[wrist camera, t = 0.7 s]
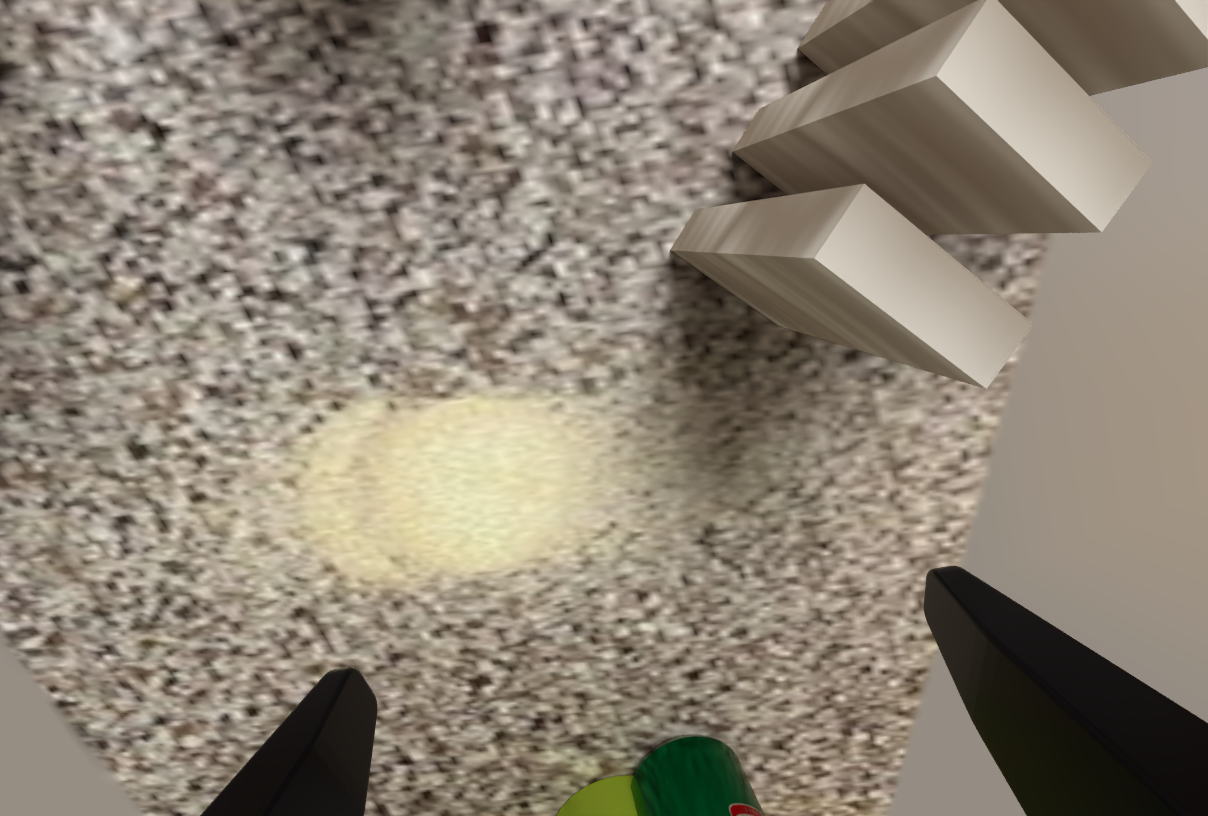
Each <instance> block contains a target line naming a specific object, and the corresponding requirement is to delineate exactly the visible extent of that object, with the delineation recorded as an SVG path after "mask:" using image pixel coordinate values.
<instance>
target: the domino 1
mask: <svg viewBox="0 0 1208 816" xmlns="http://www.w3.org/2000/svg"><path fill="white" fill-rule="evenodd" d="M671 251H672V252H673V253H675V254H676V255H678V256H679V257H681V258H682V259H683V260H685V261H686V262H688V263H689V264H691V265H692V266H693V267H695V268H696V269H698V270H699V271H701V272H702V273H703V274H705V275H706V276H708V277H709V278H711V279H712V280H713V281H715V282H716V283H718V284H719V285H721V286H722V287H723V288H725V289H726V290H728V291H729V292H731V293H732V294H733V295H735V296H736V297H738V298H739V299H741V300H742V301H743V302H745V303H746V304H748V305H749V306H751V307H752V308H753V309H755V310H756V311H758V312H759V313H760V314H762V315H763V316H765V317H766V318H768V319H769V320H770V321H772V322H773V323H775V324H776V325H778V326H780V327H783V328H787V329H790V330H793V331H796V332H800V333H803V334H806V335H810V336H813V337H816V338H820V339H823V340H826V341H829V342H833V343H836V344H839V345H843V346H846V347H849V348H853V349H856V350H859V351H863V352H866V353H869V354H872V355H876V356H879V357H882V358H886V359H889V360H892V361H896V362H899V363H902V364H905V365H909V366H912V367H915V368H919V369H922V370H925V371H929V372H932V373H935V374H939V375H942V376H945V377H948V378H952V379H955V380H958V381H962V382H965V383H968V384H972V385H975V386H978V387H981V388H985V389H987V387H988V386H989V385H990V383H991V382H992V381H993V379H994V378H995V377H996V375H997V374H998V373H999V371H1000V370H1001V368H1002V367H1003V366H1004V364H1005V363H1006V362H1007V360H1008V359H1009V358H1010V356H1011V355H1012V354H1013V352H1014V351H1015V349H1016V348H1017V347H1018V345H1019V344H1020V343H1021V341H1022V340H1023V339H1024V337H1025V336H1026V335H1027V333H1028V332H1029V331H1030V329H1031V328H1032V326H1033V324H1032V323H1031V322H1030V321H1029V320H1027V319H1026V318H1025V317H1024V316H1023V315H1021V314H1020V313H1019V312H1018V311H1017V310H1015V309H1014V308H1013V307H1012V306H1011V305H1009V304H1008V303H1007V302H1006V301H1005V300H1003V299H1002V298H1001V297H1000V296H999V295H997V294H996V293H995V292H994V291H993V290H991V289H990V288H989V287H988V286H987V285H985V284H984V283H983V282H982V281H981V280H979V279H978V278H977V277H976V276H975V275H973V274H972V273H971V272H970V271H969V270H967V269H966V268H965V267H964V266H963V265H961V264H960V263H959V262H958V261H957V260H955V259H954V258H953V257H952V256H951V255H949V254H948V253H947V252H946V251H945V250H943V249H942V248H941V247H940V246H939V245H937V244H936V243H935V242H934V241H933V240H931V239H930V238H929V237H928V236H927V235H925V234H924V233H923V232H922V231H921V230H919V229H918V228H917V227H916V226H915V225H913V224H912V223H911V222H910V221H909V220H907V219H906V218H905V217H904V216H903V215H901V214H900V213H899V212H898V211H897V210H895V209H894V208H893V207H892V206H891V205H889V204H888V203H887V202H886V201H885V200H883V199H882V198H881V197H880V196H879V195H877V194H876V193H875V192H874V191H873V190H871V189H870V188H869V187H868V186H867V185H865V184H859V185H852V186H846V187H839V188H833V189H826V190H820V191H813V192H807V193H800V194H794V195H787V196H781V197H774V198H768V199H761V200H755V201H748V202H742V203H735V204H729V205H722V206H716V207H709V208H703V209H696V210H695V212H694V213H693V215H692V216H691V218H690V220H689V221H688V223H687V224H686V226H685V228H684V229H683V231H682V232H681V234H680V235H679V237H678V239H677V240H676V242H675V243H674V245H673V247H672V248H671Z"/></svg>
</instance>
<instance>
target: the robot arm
mask: <svg viewBox="0 0 1208 816" xmlns="http://www.w3.org/2000/svg"><path fill="white" fill-rule="evenodd" d="M924 613H925V617H926V620H927V623H928V625H929V627H930V629H931V632H932V634H933V636H934V638H935V641H936V643H937V645H938V647H939V649H940V652H941V654H942V656H943V658H944V660H945V663H946V665H947V667H948V669H949V671H950V674H951V676H952V678H953V680H954V683H955V685H956V687H957V689H958V692H959V694H960V696H961V698H962V700H963V703H964V704H965V707H966V709H967V711H968V713H969V715H970V717H971V719H972V721H973V723H974V725H975V727H976V729H977V731H978V732H979V734H980V736H981V738H982V740H983V741H984V743H985V745H986V746H987V748H988V750H989V752H990V753H991V755H992V757H993V758H994V760H995V762H996V764H997V765H998V767H999V769H1000V770H1001V772H1002V774H1003V776H1004V777H1005V779H1006V781H1007V783H1008V784H1009V786H1010V788H1011V789H1012V791H1013V793H1014V795H1015V796H1016V798H1017V800H1018V802H1019V803H1020V805H1021V807H1022V808H1023V810H1024V812H1025V813H1026V815H1027V816H1208V723H1207V722H1205V721H1204V720H1202V719H1200V718H1199V717H1197V716H1196V715H1194V714H1192V713H1191V712H1189V711H1188V710H1186V709H1185V708H1183V707H1181V706H1180V705H1178V704H1177V703H1175V702H1173V701H1172V700H1170V699H1169V698H1167V697H1166V696H1164V695H1162V694H1161V693H1159V692H1158V691H1156V690H1154V689H1153V688H1151V687H1150V686H1148V685H1147V684H1145V683H1143V682H1142V681H1140V680H1139V679H1137V678H1135V677H1134V676H1132V675H1131V674H1129V673H1127V672H1126V671H1124V670H1123V669H1121V668H1120V667H1118V666H1116V665H1115V664H1113V663H1111V662H1110V661H1109V660H1107V659H1105V658H1104V657H1102V656H1101V655H1099V654H1097V653H1095V652H1094V651H1093V650H1091V649H1089V648H1088V647H1086V646H1085V645H1083V644H1082V643H1080V642H1078V641H1077V640H1075V639H1073V638H1072V637H1070V636H1069V635H1067V634H1066V633H1064V632H1063V631H1061V630H1059V629H1058V628H1056V627H1055V626H1053V625H1051V624H1050V623H1048V622H1047V621H1045V620H1043V619H1042V618H1040V617H1039V616H1037V615H1036V614H1034V613H1033V612H1031V611H1029V610H1028V609H1026V608H1024V607H1023V606H1021V605H1020V604H1018V603H1017V602H1015V601H1013V600H1012V599H1010V598H1009V597H1007V596H1006V595H1004V594H1002V593H1001V592H999V591H998V590H996V589H994V588H993V587H991V586H990V585H988V584H986V583H985V582H983V581H982V580H980V579H979V578H977V577H975V576H974V575H972V574H971V573H969V572H967V571H966V570H964V569H963V568H961V567H958V566H947V567H941V568H935V569H931V570H930V571H929V572H928V573H927V577H926V586H925V597H924ZM376 718H377V701H376V697H375V695H374V693H373V692H372V690H371V688H370V687H369V685H368V684H367V682H366V681H365V679H364V677H363V676H362V674H361V673H360V671H359V670H358V669H357V668H355V667H346V668H340V669H334V670H331V671H329V672H328V673H326V674H325V675H324V676H323V677H322V679H321V680H320V681H319V682H318V683H317V684H316V685H315V686H314V688H313V689H312V690H311V691H310V692H309V693H308V694H307V695H306V697H305V698H304V699H303V700H302V701H301V702H300V703H299V705H298V706H297V707H296V708H295V709H294V710H293V711H292V712H291V714H290V715H289V716H288V717H287V718H286V719H285V720H284V721H283V723H282V724H281V725H280V726H279V727H278V728H277V729H276V731H275V732H274V733H273V734H272V735H271V736H270V737H269V738H268V740H267V741H266V742H265V743H264V744H263V745H262V746H261V747H260V749H259V750H258V751H257V752H256V753H255V754H254V755H253V757H252V758H251V759H250V760H249V761H248V762H247V763H246V764H245V766H244V767H243V768H242V769H241V770H240V771H239V772H238V774H237V775H236V776H235V777H234V778H233V779H232V780H231V781H230V783H229V784H228V785H227V786H226V787H225V788H224V789H223V790H222V792H221V793H220V794H219V795H218V796H217V797H216V798H215V800H214V801H213V802H212V803H211V804H210V805H209V806H208V807H207V809H206V810H205V811H204V812H203V813H202V814H201V815H200V816H364V810H365V804H366V797H367V790H368V782H369V774H370V766H371V758H372V750H373V742H374V734H375V726H376Z"/></svg>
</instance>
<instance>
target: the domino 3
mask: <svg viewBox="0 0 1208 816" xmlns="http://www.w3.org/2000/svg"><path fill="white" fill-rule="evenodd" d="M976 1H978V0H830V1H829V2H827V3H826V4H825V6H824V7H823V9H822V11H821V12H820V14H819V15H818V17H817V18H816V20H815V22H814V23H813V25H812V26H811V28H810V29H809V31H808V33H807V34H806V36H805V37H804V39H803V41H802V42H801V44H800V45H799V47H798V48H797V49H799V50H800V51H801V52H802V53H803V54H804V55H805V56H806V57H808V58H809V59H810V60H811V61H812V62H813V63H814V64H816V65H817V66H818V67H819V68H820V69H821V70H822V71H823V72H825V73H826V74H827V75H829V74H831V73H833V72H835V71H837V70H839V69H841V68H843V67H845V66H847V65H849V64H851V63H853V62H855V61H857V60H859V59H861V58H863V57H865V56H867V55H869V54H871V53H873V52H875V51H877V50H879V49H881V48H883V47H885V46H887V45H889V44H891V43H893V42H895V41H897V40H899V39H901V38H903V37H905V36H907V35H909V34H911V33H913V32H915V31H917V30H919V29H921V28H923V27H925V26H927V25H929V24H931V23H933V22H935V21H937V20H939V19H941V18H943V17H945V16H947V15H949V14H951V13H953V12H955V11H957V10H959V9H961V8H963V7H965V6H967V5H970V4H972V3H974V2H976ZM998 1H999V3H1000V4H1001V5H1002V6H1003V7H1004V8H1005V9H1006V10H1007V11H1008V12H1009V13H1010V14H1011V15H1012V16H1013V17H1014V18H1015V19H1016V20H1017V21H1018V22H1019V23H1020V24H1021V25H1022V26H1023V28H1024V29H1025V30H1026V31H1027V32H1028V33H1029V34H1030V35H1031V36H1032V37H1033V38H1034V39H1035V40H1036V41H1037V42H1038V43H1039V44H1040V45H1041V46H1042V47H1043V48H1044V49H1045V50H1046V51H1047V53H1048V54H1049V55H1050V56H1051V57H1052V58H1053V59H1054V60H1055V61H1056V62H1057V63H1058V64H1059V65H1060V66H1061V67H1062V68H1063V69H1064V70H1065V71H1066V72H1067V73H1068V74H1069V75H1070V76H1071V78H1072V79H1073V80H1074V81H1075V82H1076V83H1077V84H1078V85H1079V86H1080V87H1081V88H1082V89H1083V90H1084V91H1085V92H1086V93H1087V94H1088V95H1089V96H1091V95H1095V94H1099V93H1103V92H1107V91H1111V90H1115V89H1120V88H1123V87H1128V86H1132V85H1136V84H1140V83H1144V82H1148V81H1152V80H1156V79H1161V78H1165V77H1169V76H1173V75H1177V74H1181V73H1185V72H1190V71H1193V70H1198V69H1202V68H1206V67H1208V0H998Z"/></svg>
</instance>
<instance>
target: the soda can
mask: <svg viewBox="0 0 1208 816" xmlns="http://www.w3.org/2000/svg"><path fill="white" fill-rule="evenodd" d="M631 790H632V794H633V798H634V802H635V807H636V811H637V815H638V816H765V815H764V813H763V810H762V808H761V806H760V804H759V802H758V800H757V798H756V796H755V793H754V791H753V789H752V787H751V785H750V783H749V781H748V778H747V776H746V774H745V772H744V770H743V768H742V766H741V764H740V761H739V759H738V757H737V755H736V754H735V753H734V751H733V750H732V749H731V748H730V747H729V746H727V745H726V744H724V743H723V742H721V741H719V740H716V739H713V738H710V737H707V736H702V735H682V736H677V737H674V738H671V739H669V740H667V741H665V742H663V743H661V744H659V745H658V746H657V747H655V748H654V749H653V750H652V751H651V752H650V753H649V754H648V755H647V756H646V757H645V758H644V760H643V761H642V762H641V764H640V765H639V767H638V769H637V770H636V772H635V774H634V777H633V779H632V783H631Z"/></svg>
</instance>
